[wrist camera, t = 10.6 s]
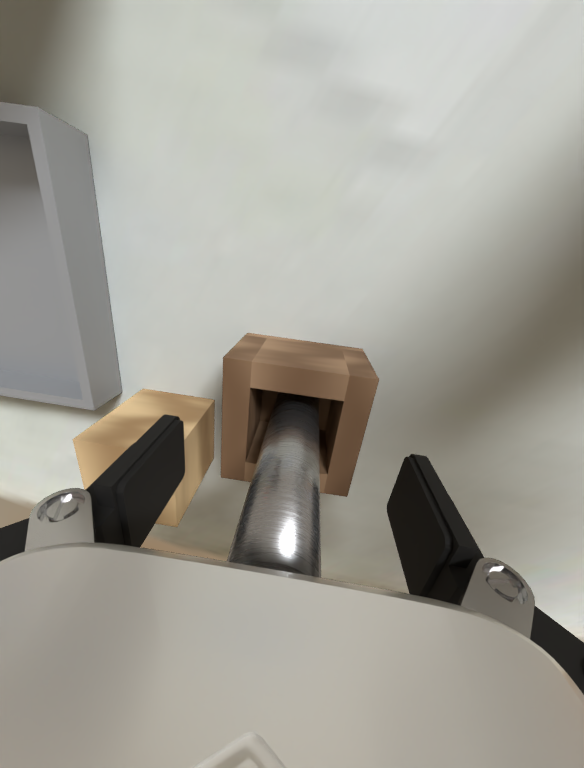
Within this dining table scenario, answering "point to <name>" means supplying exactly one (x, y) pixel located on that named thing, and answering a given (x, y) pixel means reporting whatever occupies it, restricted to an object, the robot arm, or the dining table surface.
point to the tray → (52, 266)
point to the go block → (303, 377)
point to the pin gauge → (284, 493)
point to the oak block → (132, 422)
